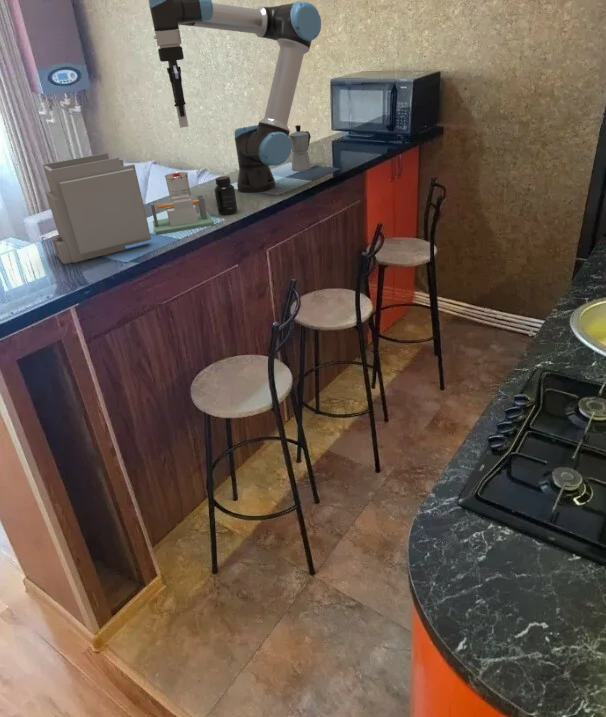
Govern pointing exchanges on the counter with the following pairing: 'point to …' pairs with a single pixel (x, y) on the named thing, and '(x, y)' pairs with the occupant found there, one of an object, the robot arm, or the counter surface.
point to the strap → (162, 205)
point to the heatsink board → (181, 227)
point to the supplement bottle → (225, 196)
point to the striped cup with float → (178, 184)
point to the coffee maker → (300, 149)
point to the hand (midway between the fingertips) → (184, 126)
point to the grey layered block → (95, 207)
